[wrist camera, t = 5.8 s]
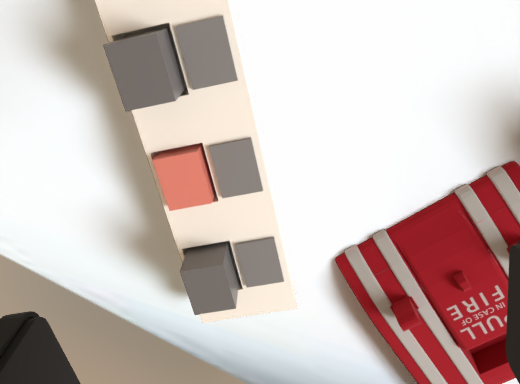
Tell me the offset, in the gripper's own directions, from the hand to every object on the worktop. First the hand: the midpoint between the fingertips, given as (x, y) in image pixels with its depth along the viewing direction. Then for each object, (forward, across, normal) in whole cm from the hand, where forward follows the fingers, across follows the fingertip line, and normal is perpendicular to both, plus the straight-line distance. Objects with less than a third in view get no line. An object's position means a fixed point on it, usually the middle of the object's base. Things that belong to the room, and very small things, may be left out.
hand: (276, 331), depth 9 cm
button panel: (+26, +6, +3) cm, 27 cm away
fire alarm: (+27, -13, +23) cm, 38 cm away
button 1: (+24, +8, -2) cm, 25 cm away
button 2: (+25, +8, +6) cm, 27 cm away
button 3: (+23, +8, +14) cm, 28 cm away
